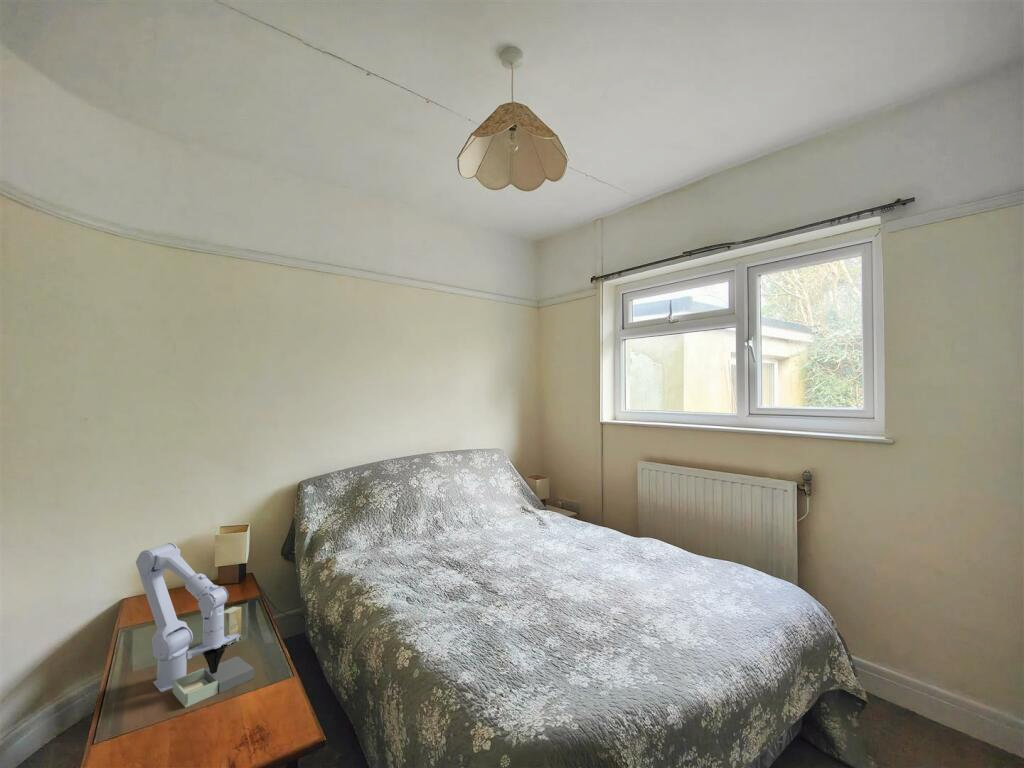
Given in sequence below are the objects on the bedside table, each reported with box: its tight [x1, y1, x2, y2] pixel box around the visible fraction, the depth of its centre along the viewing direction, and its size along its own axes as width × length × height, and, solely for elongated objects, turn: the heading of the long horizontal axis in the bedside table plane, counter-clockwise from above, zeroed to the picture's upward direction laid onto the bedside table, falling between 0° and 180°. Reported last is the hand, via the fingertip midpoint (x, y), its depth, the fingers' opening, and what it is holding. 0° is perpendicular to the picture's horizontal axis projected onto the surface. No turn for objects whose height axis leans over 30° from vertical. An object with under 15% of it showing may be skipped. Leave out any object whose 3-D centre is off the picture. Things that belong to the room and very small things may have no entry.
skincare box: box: [224, 606, 243, 645], centre depth 173 cm, size 6×4×12 cm
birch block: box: [181, 680, 203, 693], centre depth 139 cm, size 5×5×2 cm
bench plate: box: [204, 655, 255, 694], centre depth 148 cm, size 14×10×3 cm
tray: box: [171, 667, 219, 708], centre depth 140 cm, size 13×8×4 cm, turn 51°
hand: (213, 672), depth 144 cm, fingers closed
